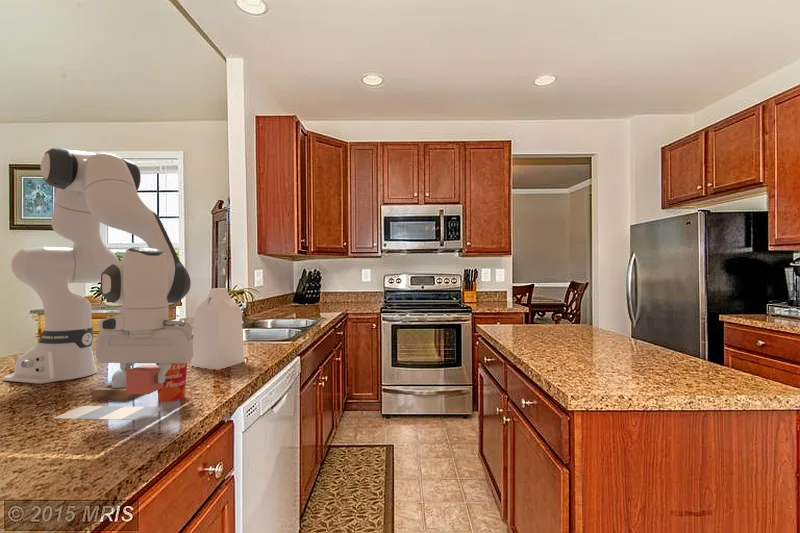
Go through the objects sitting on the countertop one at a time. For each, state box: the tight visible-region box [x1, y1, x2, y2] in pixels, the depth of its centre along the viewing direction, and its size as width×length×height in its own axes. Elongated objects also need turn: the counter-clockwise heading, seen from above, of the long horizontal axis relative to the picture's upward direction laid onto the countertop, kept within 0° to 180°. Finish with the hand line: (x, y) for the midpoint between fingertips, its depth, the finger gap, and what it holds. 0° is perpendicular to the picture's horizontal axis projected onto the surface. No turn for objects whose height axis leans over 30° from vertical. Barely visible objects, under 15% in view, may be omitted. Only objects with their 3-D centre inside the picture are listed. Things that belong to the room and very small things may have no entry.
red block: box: [126, 364, 163, 395], centre depth 90 cm, size 5×5×5 cm
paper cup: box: [155, 362, 188, 402], centre depth 101 cm, size 8×8×14 cm
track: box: [53, 405, 167, 421], centre depth 91 cm, size 20×8×1 cm, turn 88°
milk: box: [190, 287, 245, 371], centre depth 140 cm, size 12×12×26 cm
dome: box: [111, 368, 126, 388], centre depth 104 cm, size 5×5×6 cm
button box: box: [91, 381, 141, 401], centre depth 104 cm, size 9×9×3 cm
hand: (145, 382), depth 90 cm, fingers closed on red block, 5 cm apart
